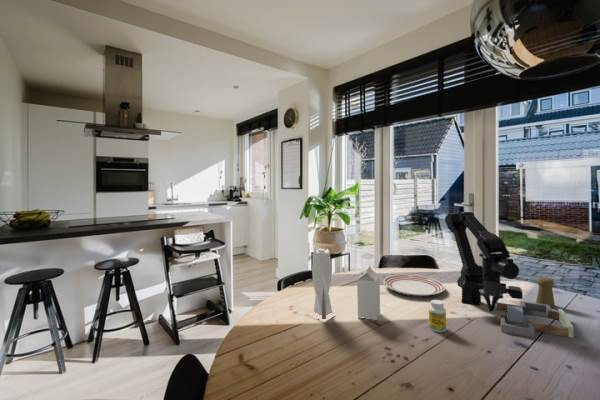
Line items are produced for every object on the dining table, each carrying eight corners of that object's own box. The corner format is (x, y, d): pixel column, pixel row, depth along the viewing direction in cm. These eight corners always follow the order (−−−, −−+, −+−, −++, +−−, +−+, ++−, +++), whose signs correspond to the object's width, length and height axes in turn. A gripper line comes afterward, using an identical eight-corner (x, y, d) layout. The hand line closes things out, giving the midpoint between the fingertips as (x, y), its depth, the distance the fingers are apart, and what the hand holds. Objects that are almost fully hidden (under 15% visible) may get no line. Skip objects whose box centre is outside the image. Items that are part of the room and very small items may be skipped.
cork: (558, 308, 118) (559, 280, 118) (541, 307, 120) (541, 280, 119) (549, 302, 124) (549, 276, 124) (532, 301, 125) (532, 275, 125)
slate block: (507, 320, 110) (507, 309, 110) (506, 315, 114) (507, 305, 114) (523, 323, 108) (523, 312, 108) (521, 318, 112) (521, 307, 111)
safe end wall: (568, 336, 97) (568, 326, 97) (558, 318, 110) (558, 308, 110) (573, 337, 97) (573, 327, 96) (562, 318, 110) (562, 309, 110)
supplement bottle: (444, 326, 107) (444, 299, 106) (447, 333, 102) (447, 305, 101) (428, 324, 108) (428, 298, 108) (429, 331, 103) (429, 304, 103)
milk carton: (380, 313, 118) (379, 265, 117) (376, 321, 112) (375, 270, 111) (362, 311, 121) (361, 264, 120) (357, 318, 115) (356, 269, 114)
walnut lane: (497, 324, 107) (497, 317, 107) (496, 308, 120) (496, 302, 120) (568, 336, 97) (568, 329, 97) (558, 318, 110) (558, 311, 110)
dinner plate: (448, 285, 149) (448, 278, 148) (440, 305, 125) (440, 297, 125) (392, 277, 163) (392, 271, 163) (375, 293, 140) (375, 286, 140)
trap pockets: (501, 331, 102) (501, 324, 102) (497, 303, 125) (498, 297, 125) (565, 343, 93) (565, 335, 93) (549, 311, 116) (549, 305, 116)
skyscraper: (307, 317, 118) (305, 246, 117) (320, 310, 124) (319, 242, 122) (324, 323, 112) (322, 248, 111) (337, 316, 118) (335, 245, 117)
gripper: (461, 273, 112) (461, 314, 112) (524, 280, 102) (524, 325, 103) (463, 265, 121) (463, 304, 122) (521, 271, 112) (520, 313, 112)
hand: (491, 311), depth 115 cm, fingers closed
